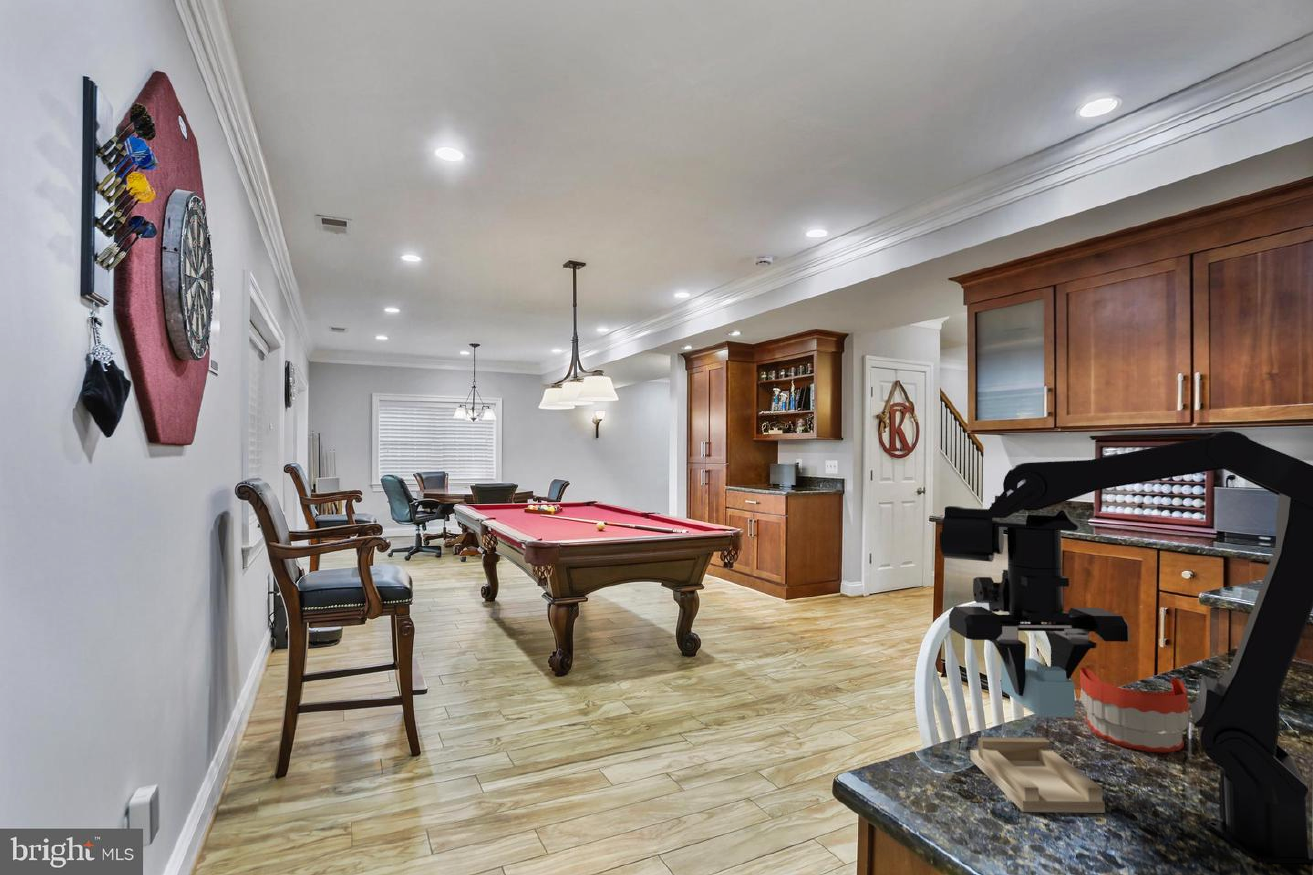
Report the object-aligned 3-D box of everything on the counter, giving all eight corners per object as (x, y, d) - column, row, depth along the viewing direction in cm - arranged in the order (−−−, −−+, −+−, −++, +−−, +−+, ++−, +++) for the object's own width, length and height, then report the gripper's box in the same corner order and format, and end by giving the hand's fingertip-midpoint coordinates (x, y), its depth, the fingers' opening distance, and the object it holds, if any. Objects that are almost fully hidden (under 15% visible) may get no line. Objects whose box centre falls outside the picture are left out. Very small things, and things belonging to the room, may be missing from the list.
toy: (1089, 746, 89) (1087, 688, 90) (1080, 720, 98) (1078, 667, 99) (1205, 765, 84) (1202, 703, 84) (1184, 735, 93) (1181, 679, 93)
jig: (1104, 812, 72) (1103, 779, 72) (1023, 811, 73) (1022, 779, 73) (1039, 759, 85) (1038, 731, 85) (970, 759, 86) (969, 731, 86)
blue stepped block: (1075, 717, 74) (1074, 671, 74) (1039, 716, 74) (1038, 670, 74) (1033, 689, 83) (1032, 648, 83) (1001, 689, 83) (1000, 648, 83)
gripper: (1073, 556, 86) (1076, 674, 86) (931, 555, 87) (933, 672, 87) (1130, 569, 75) (1134, 705, 75) (967, 568, 76) (969, 703, 76)
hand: (1037, 695), depth 78 cm, fingers closed on blue stepped block, 4 cm apart
